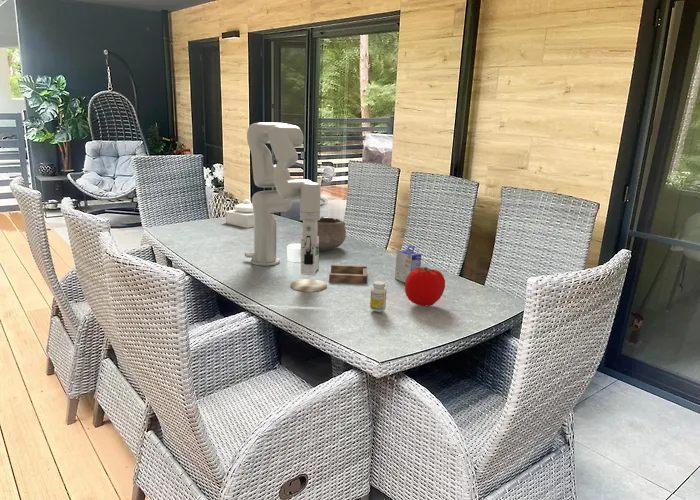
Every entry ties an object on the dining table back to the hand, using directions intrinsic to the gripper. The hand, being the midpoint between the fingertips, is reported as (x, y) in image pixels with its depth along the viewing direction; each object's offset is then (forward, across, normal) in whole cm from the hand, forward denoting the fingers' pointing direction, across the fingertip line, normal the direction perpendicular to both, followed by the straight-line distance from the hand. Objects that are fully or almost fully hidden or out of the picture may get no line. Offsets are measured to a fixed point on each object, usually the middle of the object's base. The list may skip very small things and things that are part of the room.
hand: (309, 261), depth 203 cm
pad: (+10, 0, 0) cm, 10 cm away
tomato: (+10, -14, -43) cm, 46 cm away
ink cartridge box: (+10, +12, -39) cm, 42 cm away
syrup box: (+5, 0, 0) cm, 5 cm away
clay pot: (+10, +58, -2) cm, 59 cm away
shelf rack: (+10, +14, -15) cm, 23 cm away
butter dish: (+10, +106, +46) cm, 116 cm away
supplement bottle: (+10, -22, -26) cm, 35 cm away
